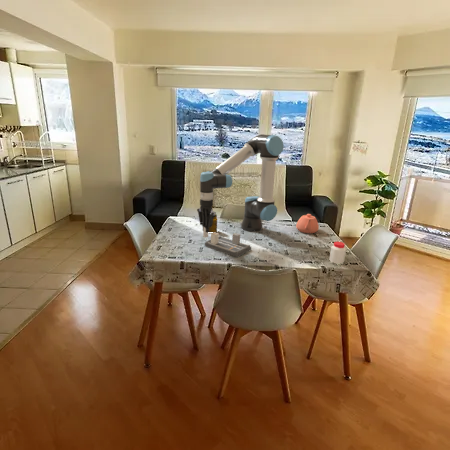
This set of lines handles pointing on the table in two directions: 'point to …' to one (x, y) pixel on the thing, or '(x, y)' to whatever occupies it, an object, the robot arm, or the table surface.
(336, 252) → the pill bottle
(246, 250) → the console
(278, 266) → the table surface
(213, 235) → the block
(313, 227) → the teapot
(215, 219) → the condiment
